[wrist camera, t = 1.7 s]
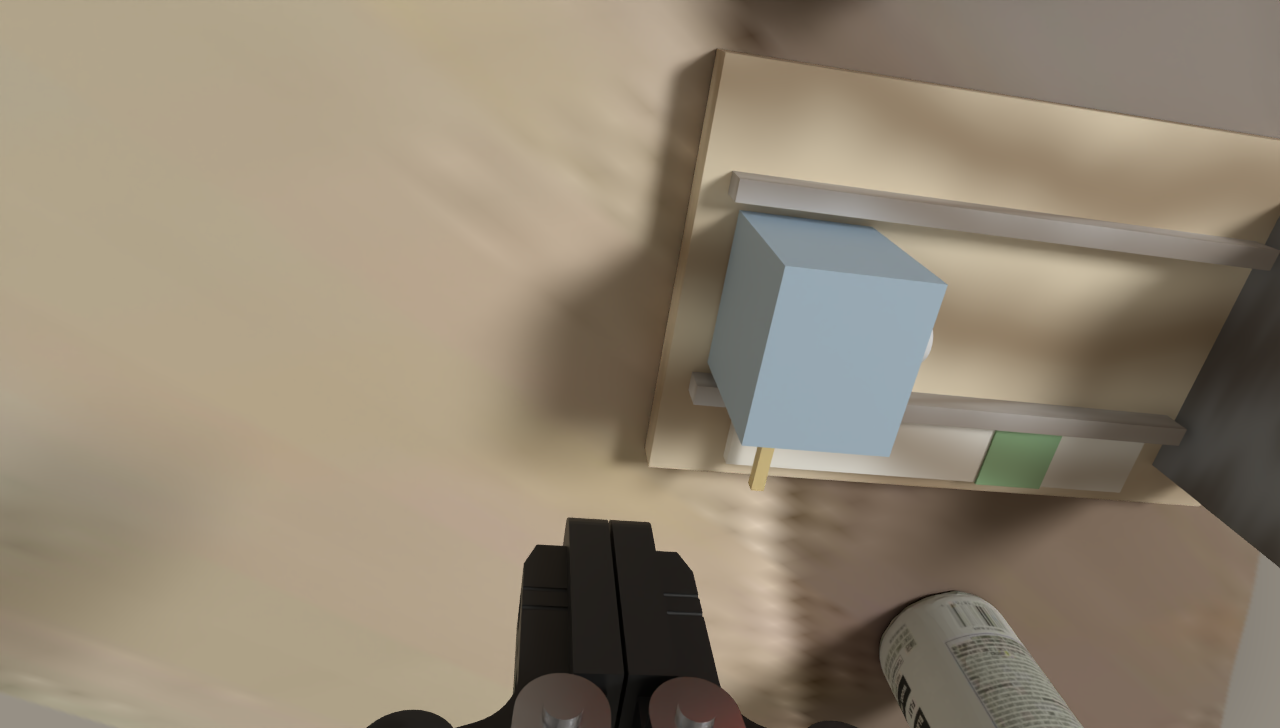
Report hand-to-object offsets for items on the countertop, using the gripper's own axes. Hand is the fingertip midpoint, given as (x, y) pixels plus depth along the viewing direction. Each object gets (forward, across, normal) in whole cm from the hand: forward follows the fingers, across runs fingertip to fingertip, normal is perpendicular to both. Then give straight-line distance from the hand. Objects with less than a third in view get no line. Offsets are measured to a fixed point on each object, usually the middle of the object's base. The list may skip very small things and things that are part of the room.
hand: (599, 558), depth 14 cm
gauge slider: (+15, -9, +2) cm, 18 cm away
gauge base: (+17, -17, 0) cm, 24 cm away
